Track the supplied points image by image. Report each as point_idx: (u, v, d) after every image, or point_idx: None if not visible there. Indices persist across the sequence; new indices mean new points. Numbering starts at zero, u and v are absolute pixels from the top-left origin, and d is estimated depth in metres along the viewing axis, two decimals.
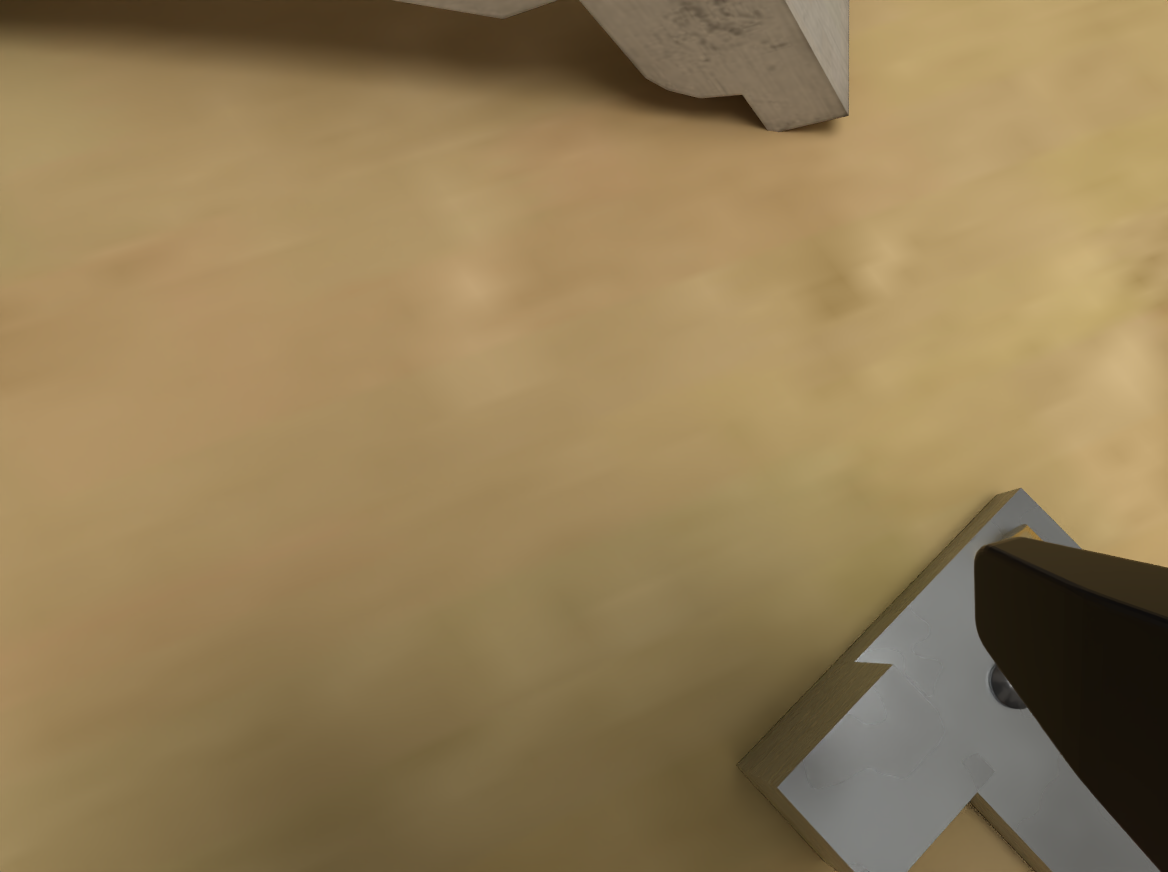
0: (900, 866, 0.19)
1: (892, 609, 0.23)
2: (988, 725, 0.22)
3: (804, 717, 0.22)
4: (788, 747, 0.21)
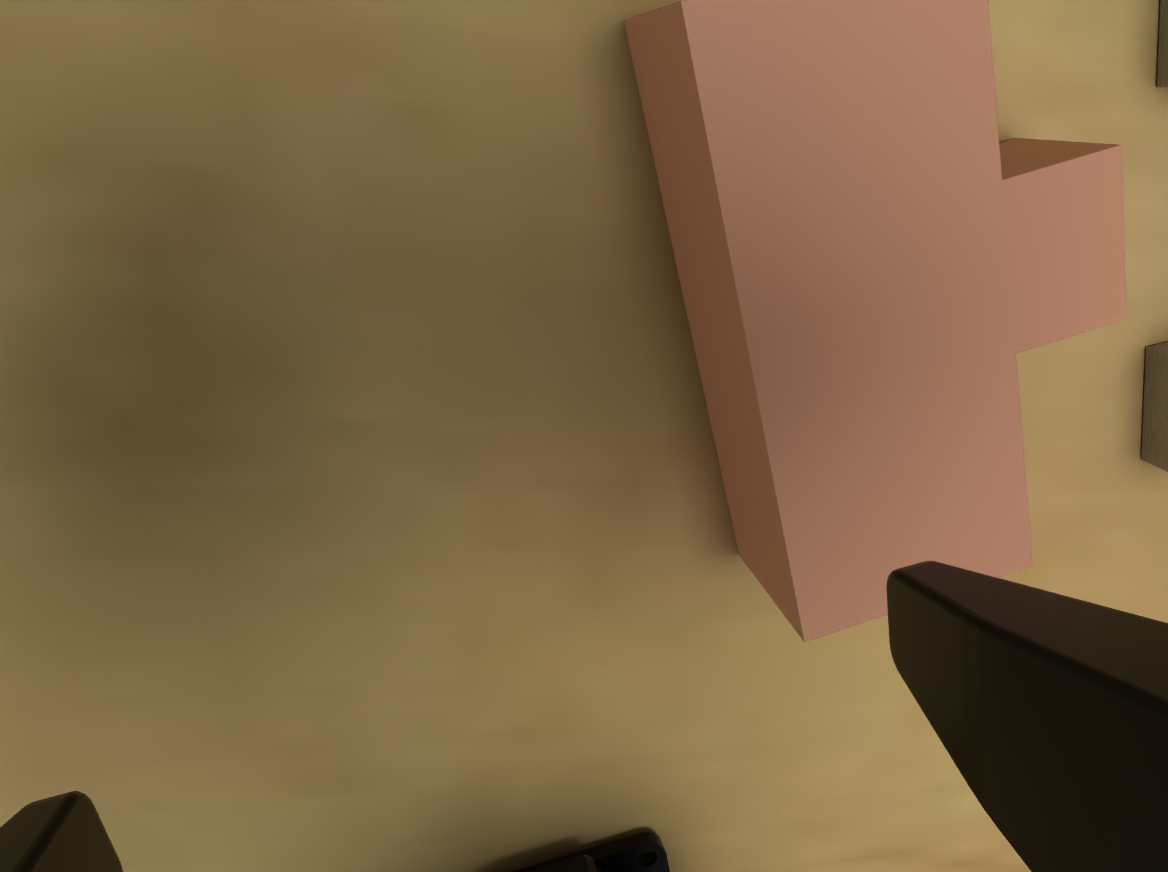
0: None
1: None
2: None
3: None
4: None
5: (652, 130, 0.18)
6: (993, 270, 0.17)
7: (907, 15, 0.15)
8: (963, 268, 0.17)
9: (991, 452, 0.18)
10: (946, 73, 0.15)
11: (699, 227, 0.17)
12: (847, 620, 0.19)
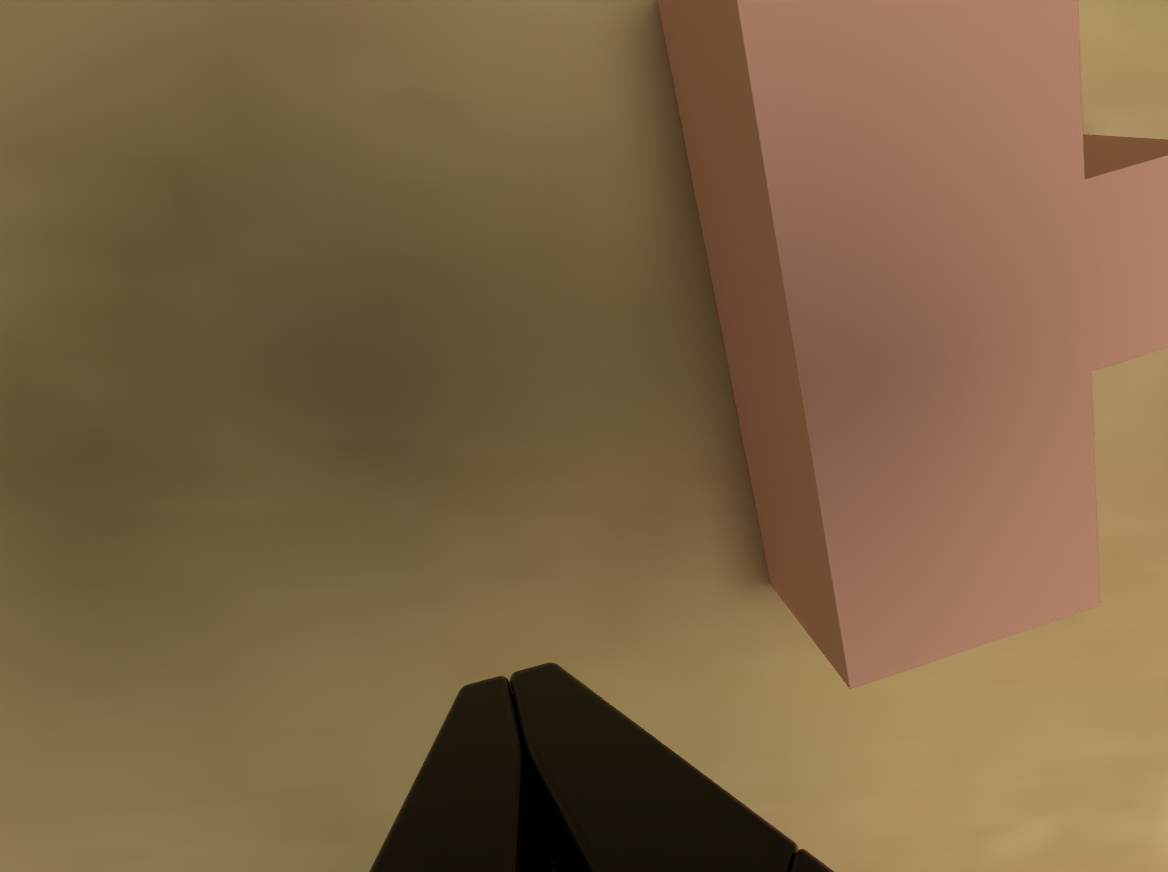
0: None
1: None
2: None
3: None
4: None
5: (687, 122, 0.17)
6: (1071, 281, 0.15)
7: None
8: (1038, 279, 0.15)
9: (1060, 482, 0.16)
10: (1027, 60, 0.14)
11: (742, 231, 0.15)
12: (896, 665, 0.17)
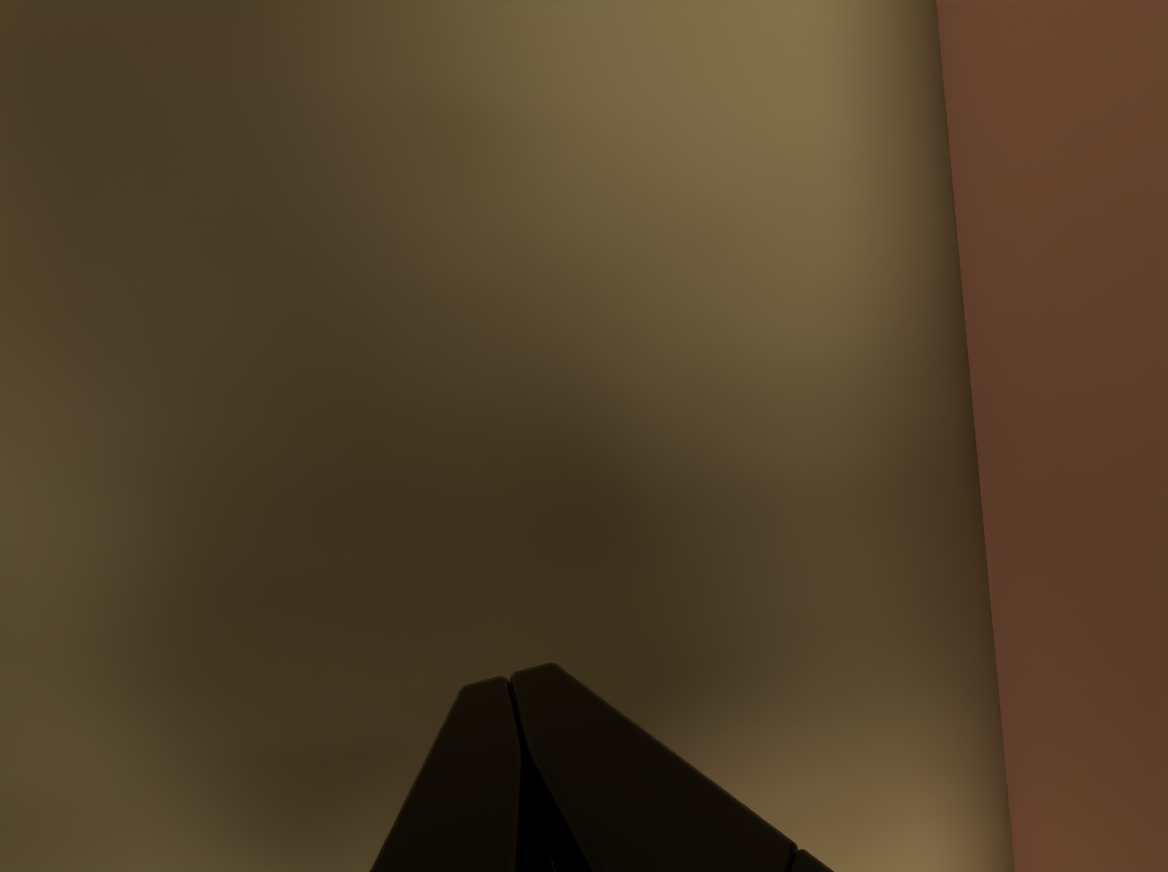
0: None
1: None
2: None
3: None
4: None
5: (976, 162, 0.08)
6: None
7: None
8: None
9: None
10: None
11: (1139, 400, 0.07)
12: None
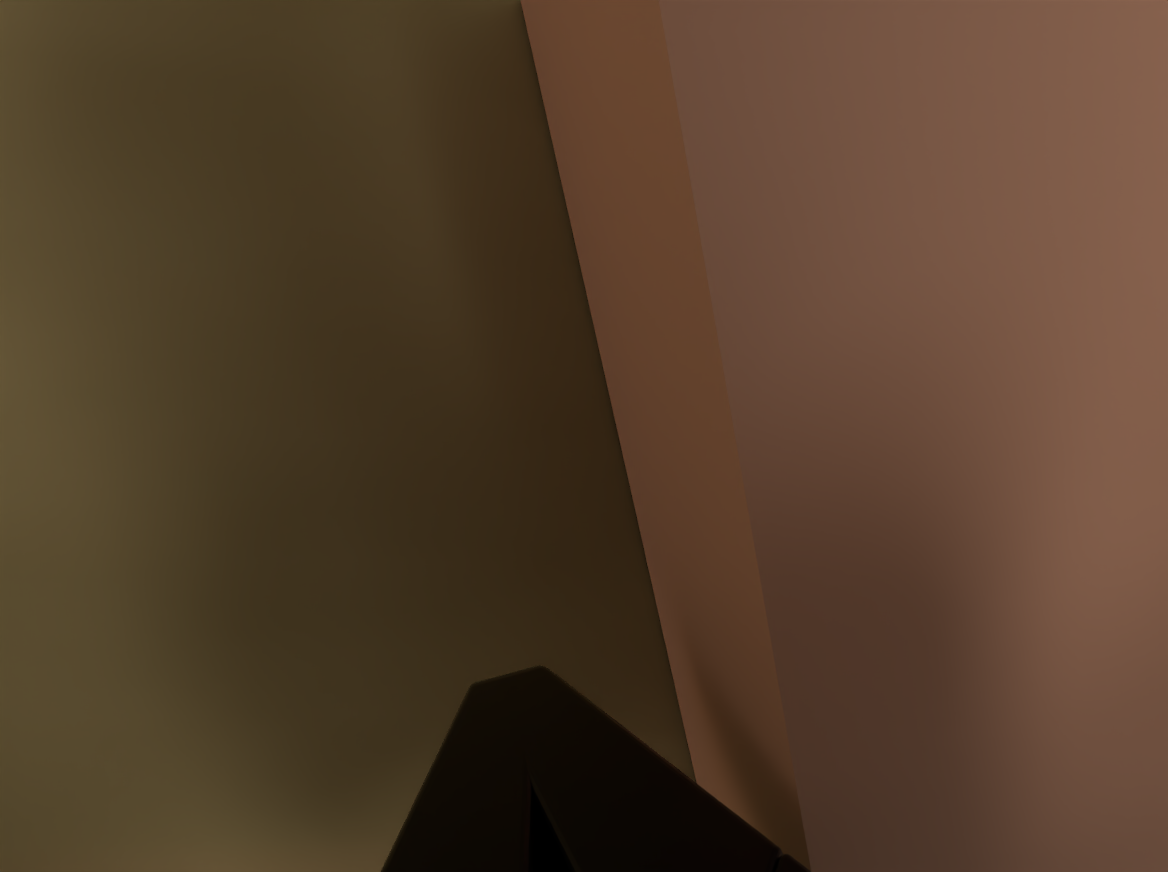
0: None
1: None
2: None
3: None
4: None
5: (586, 254, 0.08)
6: None
7: None
8: None
9: None
10: None
11: (690, 524, 0.07)
12: None
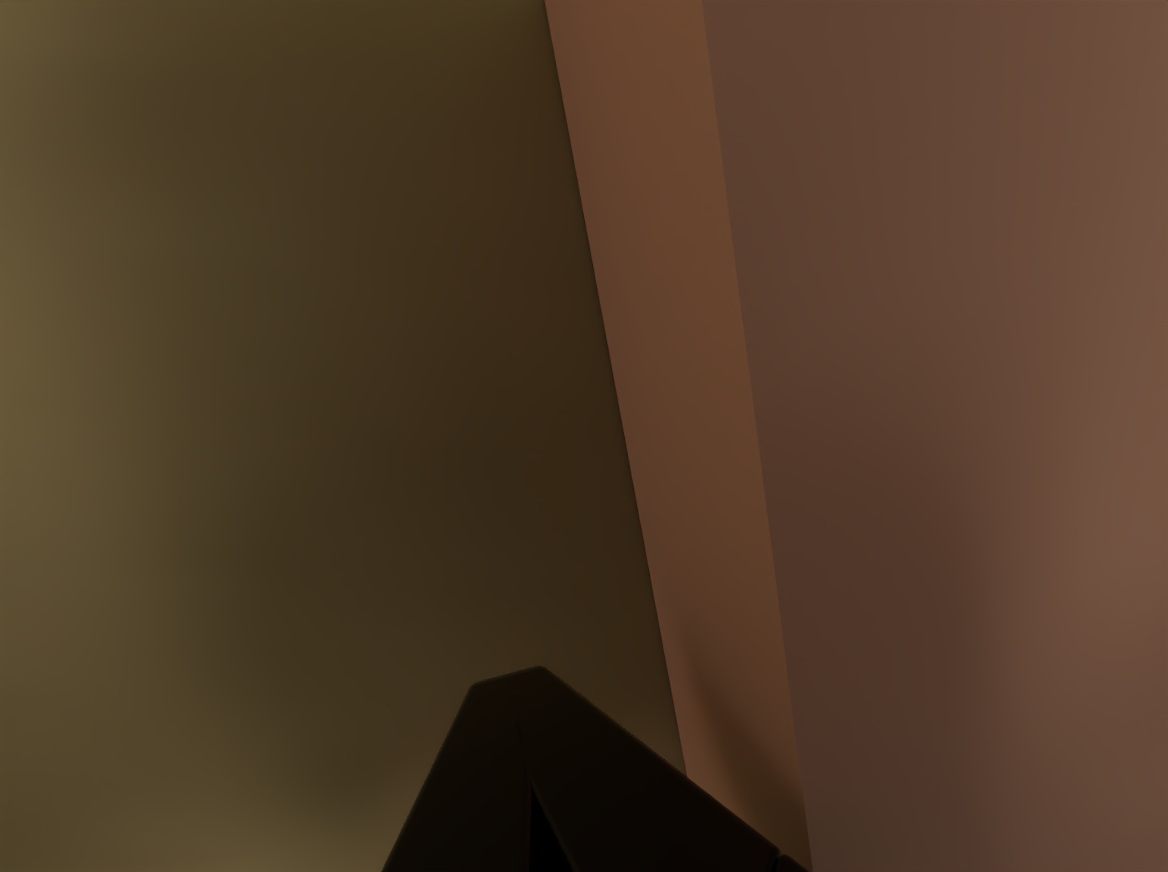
0: None
1: None
2: None
3: None
4: None
5: (600, 250, 0.08)
6: None
7: None
8: None
9: None
10: None
11: (699, 522, 0.07)
12: None
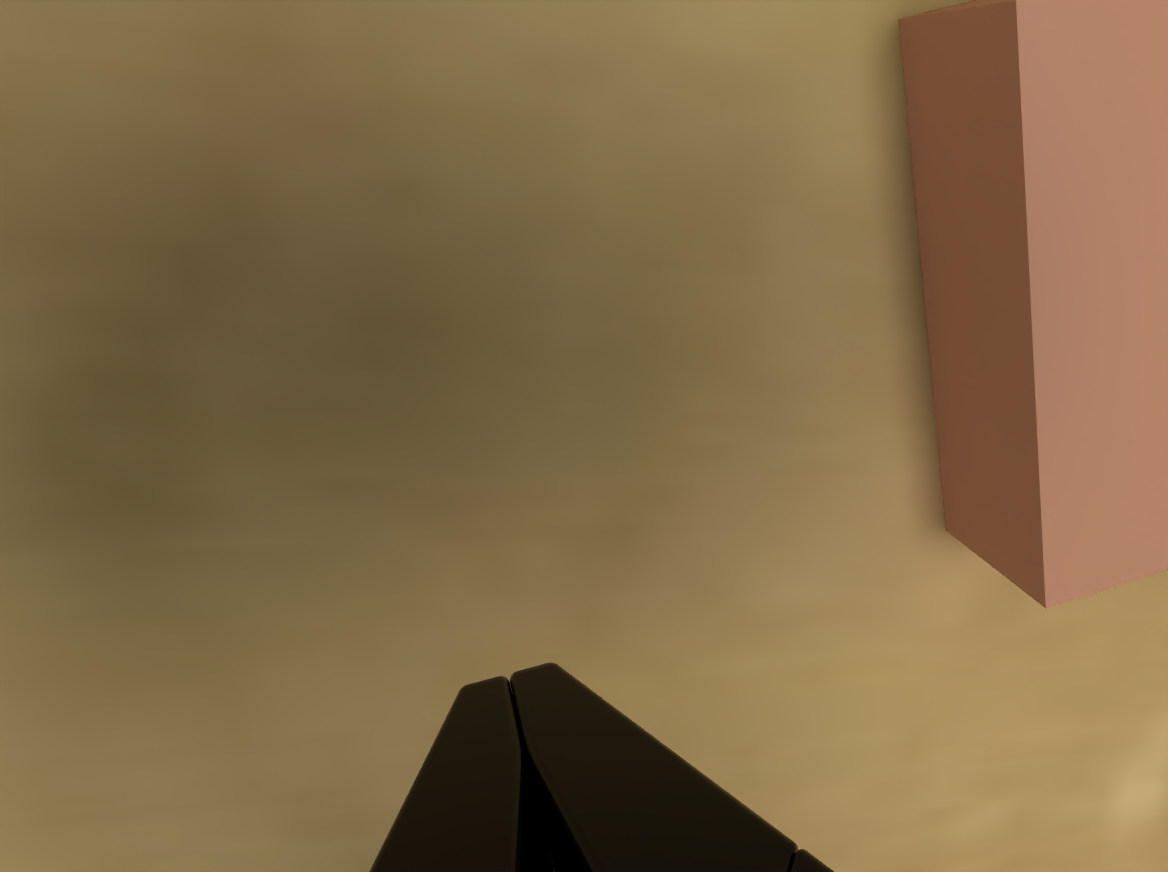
0: None
1: None
2: None
3: None
4: None
5: (918, 122, 0.20)
6: None
7: None
8: None
9: None
10: None
11: (978, 213, 0.18)
12: (1086, 588, 0.20)
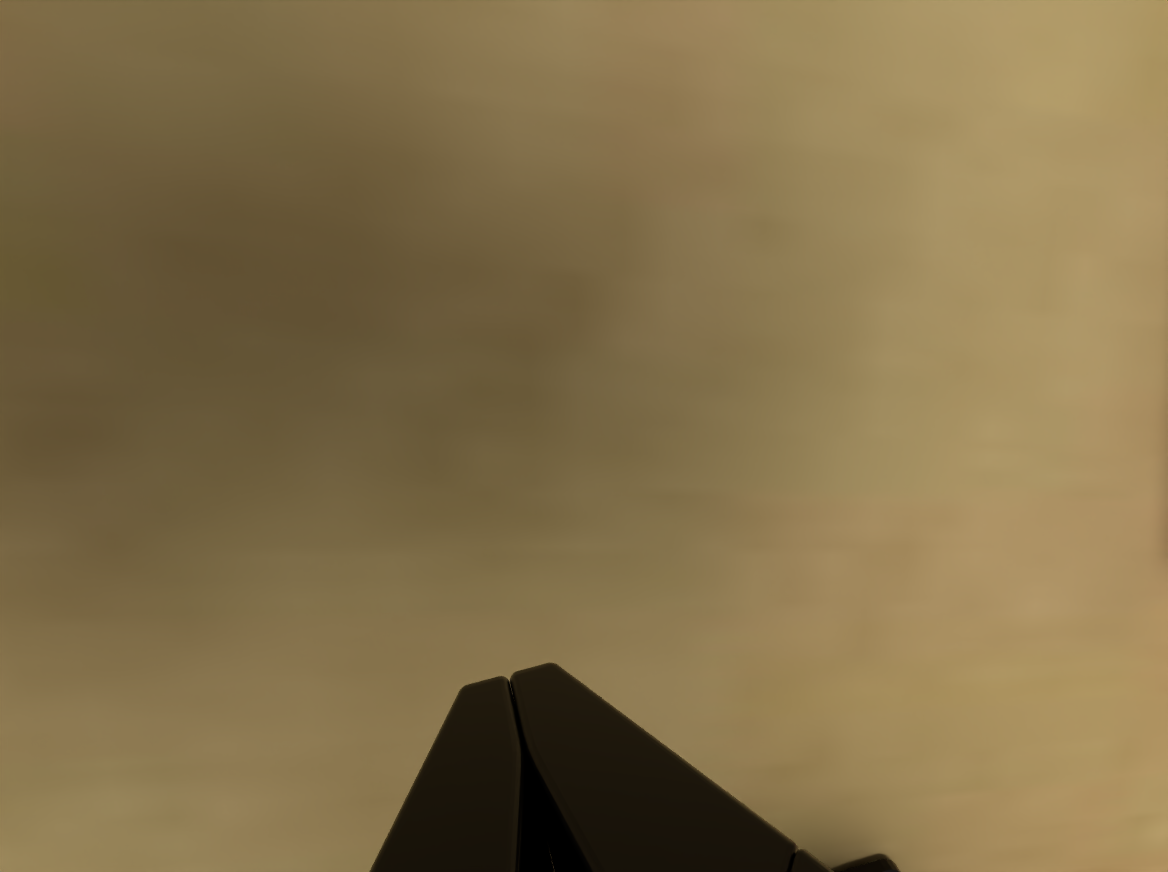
0: None
1: None
2: None
3: None
4: None
5: None
6: None
7: None
8: None
9: None
10: None
11: None
12: None
